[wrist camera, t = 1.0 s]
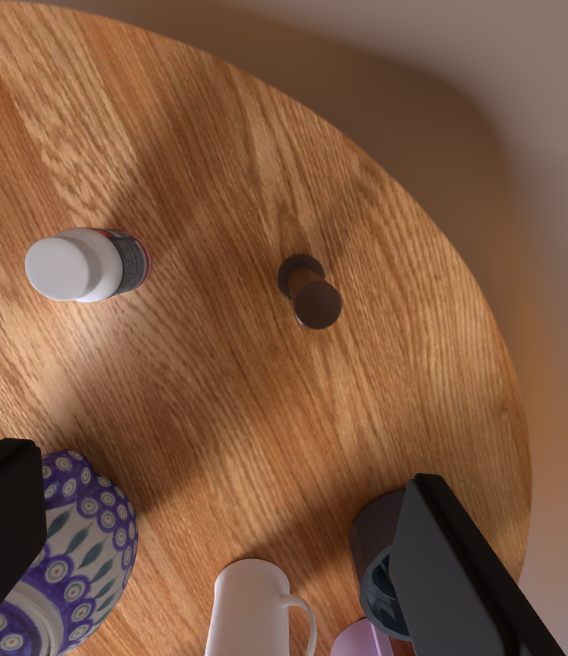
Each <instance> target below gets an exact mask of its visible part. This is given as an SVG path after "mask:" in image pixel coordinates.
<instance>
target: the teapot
mask: <svg viewBox="0 0 568 656" xmlns="http://www.w3.org/2000/svg"><path fill="white" fill-rule="evenodd" d="M42 470H43V483H44V496H45V509H46V522H47V539H46V542H45V545H44V547H43V549H42V551H41V552H40V554H39V555H38V556H37V557H36V559H35V560H34V561H33V563H32V564H31V565H30V567H29V568H28V569H27V571H26V572H25V573H24V575H23V576H22V577H21V578H20V580H19V581H18V582H17V584H16V585H15V586H14V588H13V589H12V590H11V592H10V593H9V594H8V595H7V597H6V598H5V599H4V601H3V602H2V603H1V605H0V656H63V655H65V654H67V653H69V652H70V651H72V650H74V649H75V648H77V647H78V646H80V645H81V644H82V643H83V642H84V641H86V640H87V639H88V638H89V637H90V636H91V635H92V634H93V633H94V632H95V631H96V630H97V629H98V628H99V627H100V625H101V624H102V623H103V622H104V621H105V619H106V618H107V616H108V615H109V614H110V612H111V611H112V610H113V608H114V607H115V605H116V604H117V602H118V601H119V599H120V597H121V595H122V593H123V591H124V589H125V587H126V584H127V582H128V579H129V577H130V574H131V571H132V568H133V565H134V562H135V558H136V552H137V543H138V529H137V522H136V515H135V512H134V509H133V506H132V505H131V503H130V501H129V500H128V498H127V497H126V495H125V494H124V493H123V492H122V491H121V489H120V488H119V487H118V486H117V485H116V484H115V483H114V482H113V481H112V480H111V479H109V478H107V477H106V476H104V475H102V474H100V473H98V472H96V471H94V470H93V468H92V465H91V463H90V462H89V461H88V460H87V459H86V458H85V457H84V456H83V455H82V454H80V453H78V452H76V451H74V450H70V449H64V450H61V451H57V452H52V453H49V454H46V455H45V456H43V457H42Z"/></svg>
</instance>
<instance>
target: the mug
mask: <svg viewBox="0 0 568 656" xmlns="http://www.w3.org/2000/svg"><path fill="white" fill-rule="evenodd" d="M289 593H290V586H289V581H288V578H287V576H286V575H285V573H284V572H283V571H282V570H281V569H280V568H279V567H278V566H276V565H275V564H273V563H271V562H268V561H265V560H261V559H244V560H240V561H236V562H234V563H232V564H230V565H228V566H227V567H226V568H225V569H223V570H222V572H221V573H220V574H219V576H218V578H217V580H216V583H215V599H214V606H213V612H212V618H211V624H210V629H209V635H208V641H207V646H206V652H205V656H289V623H288V606H291V605H297V606H300V607H302V608H303V609H304V610H305V611H306V613H307V614H308V617H309V621H310V638H309V643H308V646H307V649H306V652H305V655H304V656H313V655H314V652H315V647H316V639H317V628H316V621H315V617H314V614H313V611H312V609H311V608H310V606H309V604H308V603H307V602H306V601H305V600H304V599H303V598H301V597H300V596H298V595H294V594H289Z"/></svg>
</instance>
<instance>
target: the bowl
mask: <svg viewBox="0 0 568 656" xmlns="http://www.w3.org/2000/svg"><path fill="white" fill-rule="evenodd" d="M405 490H406V489H402V490H398V491H395V492H392V493H389V494H386V495H383V496H381V497H380V498H378V499H377V500H375V501H374V502H372V503H371V504H369V505H368V506H366V507H365V509H364V510H363V511H362V512H361V513H360V515H359V516H358V517H357V518H356V520H355V521H354V523H353V526H352V528H351V531H350V534H349V537H348V553H349V557H350V562H351V566H352V570H353V575H354V579H355V584H356V588H357V593H358V597H359V601H360V605H361V607H362V609H363V611H364V614H365V616H366V618H367V619H368V620H369V621H370V622H371V623H372V624H373V625H374V626H375V627H376V628H377V629H378V630H379V631H381V632H383V633H385V634H387V635H389V636H391V637H393V638H395V639H398V640H403V641H409V642H412V640H411V637H410V634H409V631H408V628H407V625H406V622H405V619H404V616H403V613H402V610H401V607H400V604H399V601H398V598H397V595H396V592H395V589H394V586H393V585H392V584H391V583H390V582H389V580H388V578H387V574H386V573H387V568H388V567H389V558H390V554H391V550H392V545H393V541H394V537H395V533H396V528H397V524H398V520H399V516H400V511H401V507H402V503H403V498H404V494H405Z"/></svg>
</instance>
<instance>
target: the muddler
mask: <svg viewBox="0 0 568 656" xmlns="http://www.w3.org/2000/svg"><path fill="white" fill-rule="evenodd" d="M278 285H279V288H280V290H281V291H282V293H283V294H284V295H285V296H286V297H287V298H289V299H291V300H292V304H293V309H294V313H295V316H296V318H297V319H298V321H299V322H300V323H301V324H302V325H304V326H305V327H307V328H310V329H316V330H318V329H324V328H327V327H329V326H331V325H332V324H333V323H334V322H335V321H336V320H337V319H338V317H339V316H340V313H341V310H342V300H341V297H340V294H339V293H338V291H337V290H336V289H335V288H334V287H333V286H332V285H330V284H329V283H328V282H327V281H326V280H325V275H324V271H323V268H322V266H321V264H320V263H319V262H318V261H317V260H316V259H314V258H313V257H311V256H308V255H305V254H296V255H292V256H290V257H288V258H287V259H286V260H285V261H284V262H283V263H282V264H281V266H280V268H279V271H278Z"/></svg>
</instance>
